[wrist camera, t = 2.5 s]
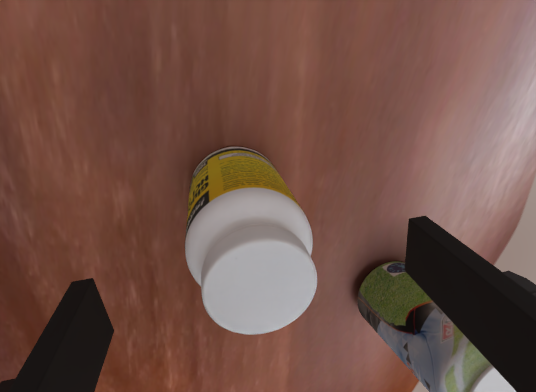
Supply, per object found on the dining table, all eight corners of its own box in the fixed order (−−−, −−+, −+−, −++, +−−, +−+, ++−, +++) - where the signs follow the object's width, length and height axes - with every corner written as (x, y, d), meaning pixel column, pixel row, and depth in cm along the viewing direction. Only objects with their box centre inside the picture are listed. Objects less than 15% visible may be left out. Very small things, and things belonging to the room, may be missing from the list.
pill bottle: (188, 142, 21) (178, 221, 11) (281, 145, 22) (348, 218, 12) (190, 228, 23) (182, 356, 13) (274, 226, 25) (325, 342, 15)
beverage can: (340, 308, 29) (424, 456, 18) (373, 237, 27) (491, 360, 16) (398, 315, 31) (505, 454, 20) (434, 249, 29) (577, 367, 18)
